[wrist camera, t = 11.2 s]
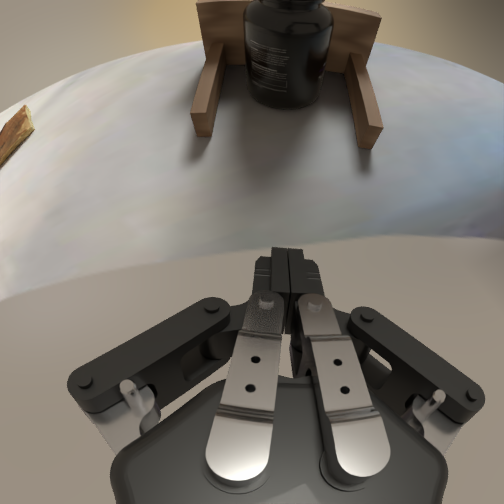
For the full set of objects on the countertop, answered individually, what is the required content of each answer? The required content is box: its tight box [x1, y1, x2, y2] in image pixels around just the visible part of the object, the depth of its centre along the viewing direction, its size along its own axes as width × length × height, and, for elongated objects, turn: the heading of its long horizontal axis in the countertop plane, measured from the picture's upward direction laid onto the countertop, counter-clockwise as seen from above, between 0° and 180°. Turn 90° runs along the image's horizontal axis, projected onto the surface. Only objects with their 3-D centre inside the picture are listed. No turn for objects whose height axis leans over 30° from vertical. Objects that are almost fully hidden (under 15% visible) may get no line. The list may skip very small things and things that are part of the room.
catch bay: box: [190, 0, 383, 149], centre depth 19 cm, size 16×11×8 cm
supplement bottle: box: [243, 0, 334, 109], centre depth 17 cm, size 7×7×12 cm
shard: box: [0, 105, 35, 166], centre depth 23 cm, size 11×8×2 cm
